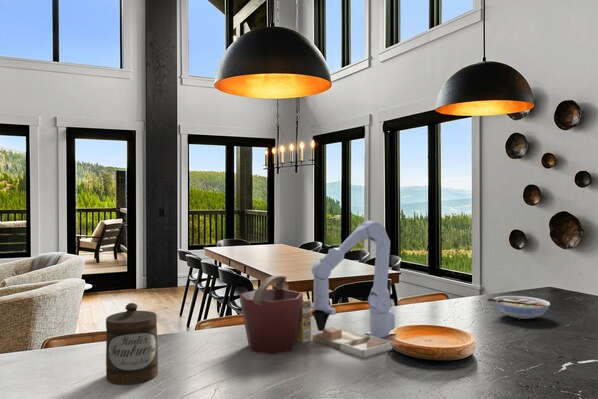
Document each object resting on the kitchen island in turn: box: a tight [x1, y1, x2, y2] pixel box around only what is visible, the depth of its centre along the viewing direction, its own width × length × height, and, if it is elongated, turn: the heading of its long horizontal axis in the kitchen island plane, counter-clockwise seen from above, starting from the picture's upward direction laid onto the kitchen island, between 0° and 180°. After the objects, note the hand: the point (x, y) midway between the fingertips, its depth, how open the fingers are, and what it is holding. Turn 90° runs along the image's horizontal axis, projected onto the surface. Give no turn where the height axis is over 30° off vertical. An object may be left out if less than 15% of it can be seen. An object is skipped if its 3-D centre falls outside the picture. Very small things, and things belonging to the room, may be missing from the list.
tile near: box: [367, 338, 387, 348], centre depth 179 cm, size 5×5×2 cm
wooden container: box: [105, 302, 159, 385], centre depth 154 cm, size 15×15×22 cm
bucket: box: [239, 275, 304, 355], centre depth 182 cm, size 24×22×25 cm
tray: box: [339, 334, 393, 359], centre depth 179 cm, size 15×11×2 cm
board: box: [311, 327, 369, 351], centre depth 189 cm, size 15×15×2 cm
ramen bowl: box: [486, 295, 552, 320], centre depth 222 cm, size 25×23×8 cm
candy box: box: [296, 297, 312, 344], centre depth 191 cm, size 9×4×15 cm, turn 33°
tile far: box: [322, 326, 342, 339], centre depth 188 cm, size 5×5×2 cm
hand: (321, 330), depth 193 cm, fingers closed
